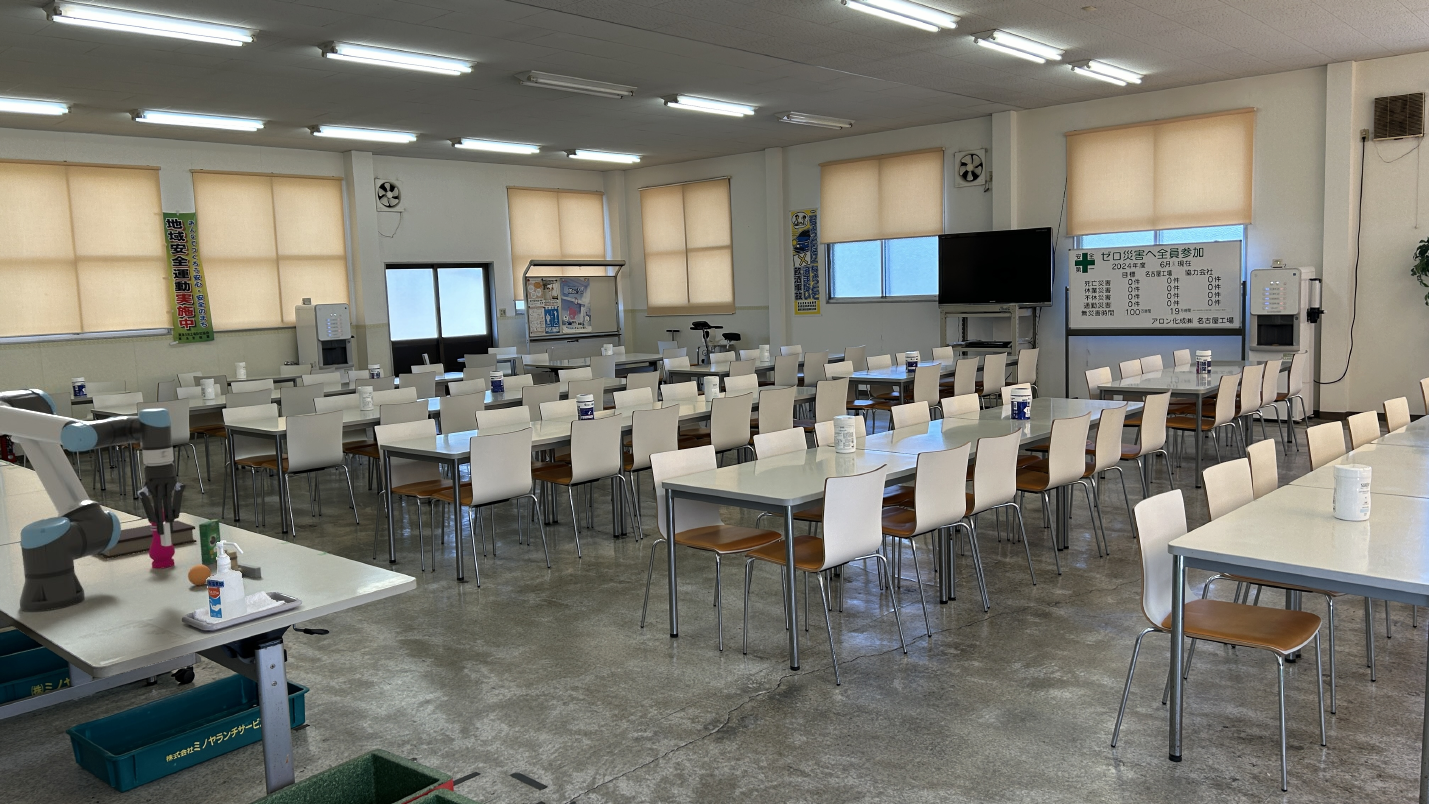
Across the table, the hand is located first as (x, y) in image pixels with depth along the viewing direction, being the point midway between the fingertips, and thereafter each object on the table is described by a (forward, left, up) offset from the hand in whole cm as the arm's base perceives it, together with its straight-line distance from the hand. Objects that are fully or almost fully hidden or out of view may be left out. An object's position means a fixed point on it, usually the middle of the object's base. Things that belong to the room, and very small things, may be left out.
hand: (166, 545), depth 282 cm
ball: (+9, +2, -11) cm, 15 cm away
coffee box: (+27, +26, -15) cm, 40 cm away
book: (+27, +71, -15) cm, 77 cm away
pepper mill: (+16, +35, -15) cm, 41 cm away
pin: (+18, -3, -14) cm, 23 cm away
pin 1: (+18, +2, -14) cm, 23 cm away
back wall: (+23, 0, -14) cm, 27 cm away
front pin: (+12, 0, -13) cm, 18 cm away
